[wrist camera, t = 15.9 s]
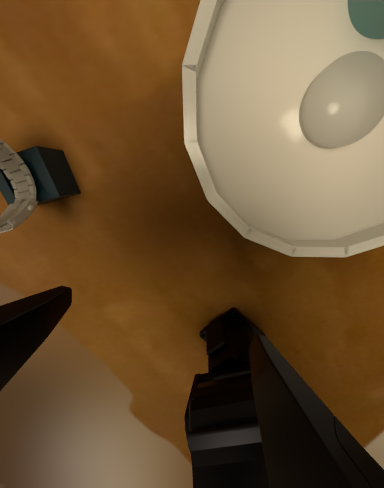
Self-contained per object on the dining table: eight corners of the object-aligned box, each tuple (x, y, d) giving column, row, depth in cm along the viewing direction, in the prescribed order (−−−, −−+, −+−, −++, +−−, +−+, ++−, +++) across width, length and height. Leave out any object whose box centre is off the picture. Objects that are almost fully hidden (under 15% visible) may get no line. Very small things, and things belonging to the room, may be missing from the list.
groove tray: (562, 101, 15) (645, 83, 12) (294, 285, 22) (307, 301, 19) (408, -279, 10) (488, -458, 7) (132, 120, 17) (117, 109, 15)
